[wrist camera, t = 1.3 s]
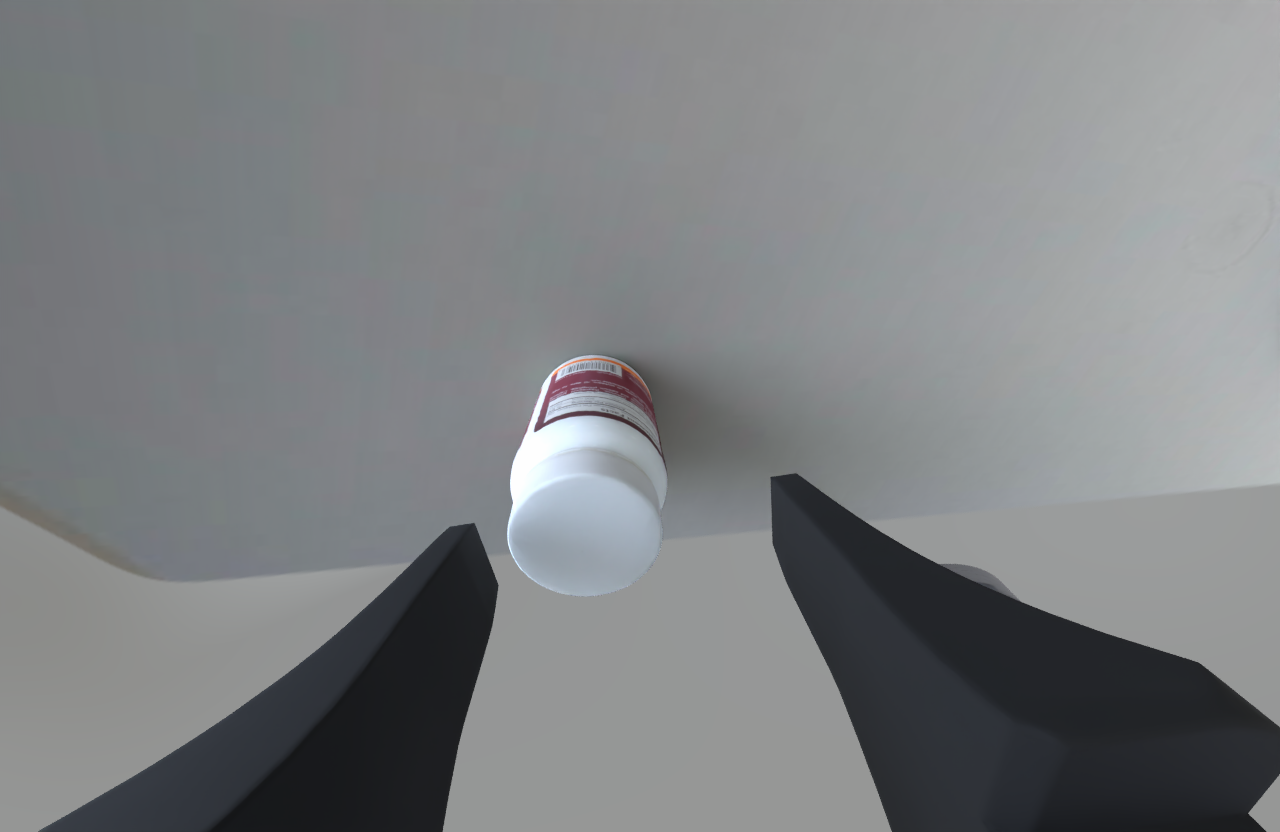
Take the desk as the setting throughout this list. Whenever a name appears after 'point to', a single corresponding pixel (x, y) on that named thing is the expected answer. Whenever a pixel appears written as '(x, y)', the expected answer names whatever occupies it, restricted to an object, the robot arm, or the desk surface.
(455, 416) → the desk surface
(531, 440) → the pill bottle
